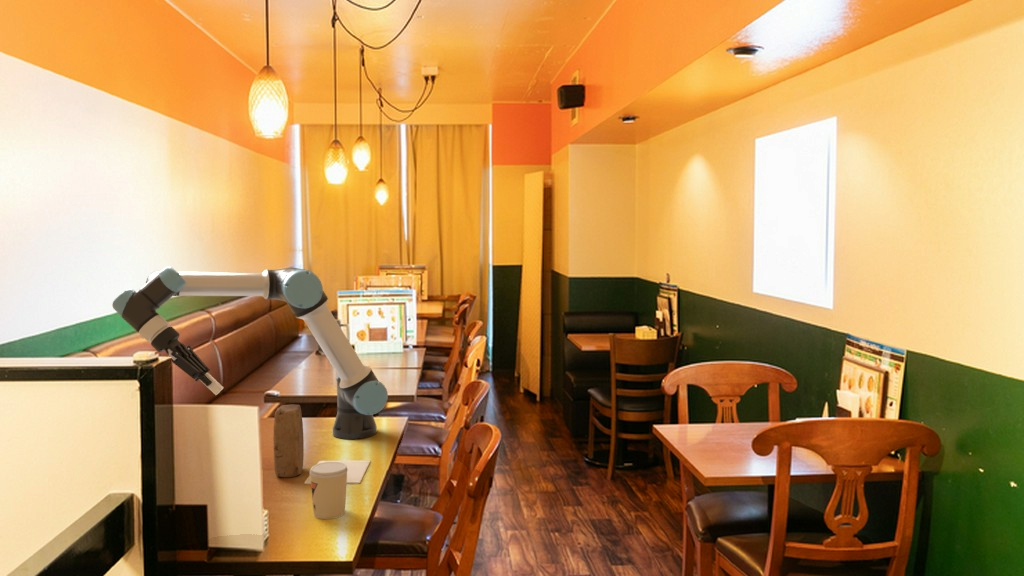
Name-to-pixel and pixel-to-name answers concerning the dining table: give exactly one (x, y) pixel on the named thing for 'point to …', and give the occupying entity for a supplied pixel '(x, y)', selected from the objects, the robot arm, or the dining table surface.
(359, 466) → the mat
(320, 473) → the coffee cup
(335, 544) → the dining table surface
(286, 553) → the dining table surface
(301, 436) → the block
